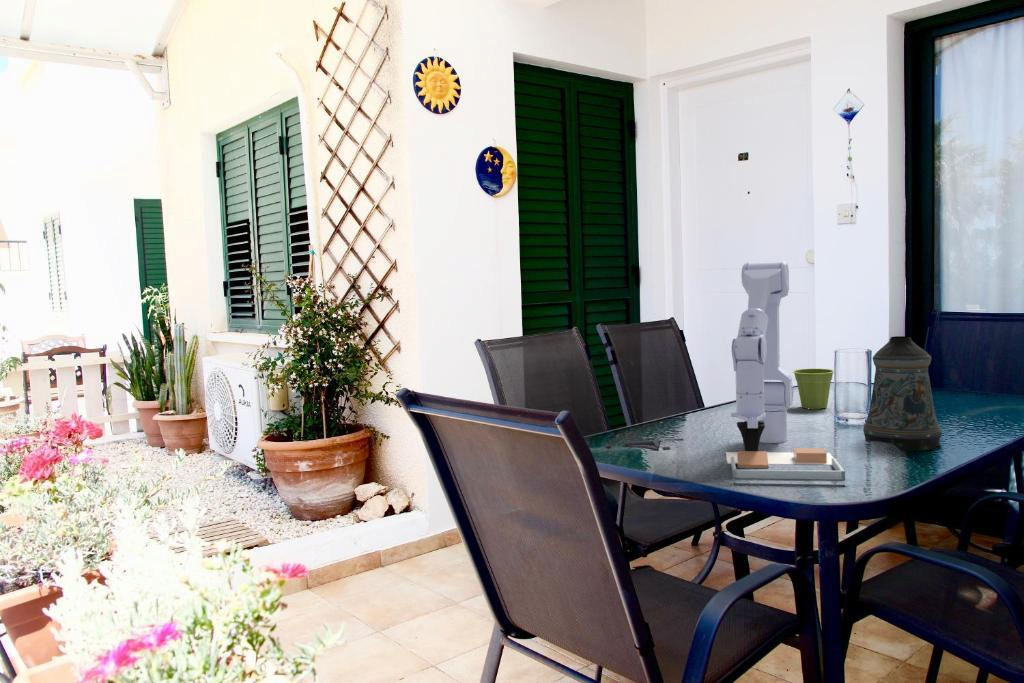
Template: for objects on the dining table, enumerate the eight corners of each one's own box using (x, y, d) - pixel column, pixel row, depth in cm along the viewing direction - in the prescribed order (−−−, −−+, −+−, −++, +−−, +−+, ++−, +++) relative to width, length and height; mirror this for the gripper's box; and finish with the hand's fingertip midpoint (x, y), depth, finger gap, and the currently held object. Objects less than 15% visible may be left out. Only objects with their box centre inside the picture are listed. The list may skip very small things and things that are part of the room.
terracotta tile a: (737, 458, 170) (737, 451, 169) (766, 459, 169) (766, 451, 168) (738, 472, 166) (738, 464, 165) (768, 473, 164) (768, 465, 163)
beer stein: (894, 453, 178) (893, 341, 176) (841, 437, 197) (840, 336, 195) (958, 447, 181) (958, 337, 180) (900, 432, 200) (899, 332, 199)
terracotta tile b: (793, 457, 172) (793, 448, 172) (823, 457, 171) (822, 448, 171) (796, 462, 167) (796, 453, 167) (826, 462, 166) (826, 453, 166)
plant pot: (788, 405, 247) (787, 369, 246) (827, 404, 246) (826, 367, 245) (800, 411, 235) (799, 373, 234) (841, 410, 234) (840, 372, 234)
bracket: (637, 461, 184) (637, 449, 184) (625, 447, 199) (624, 436, 199) (699, 458, 185) (699, 446, 185) (682, 445, 200) (681, 434, 200)
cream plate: (725, 458, 180) (725, 452, 180) (829, 459, 175) (829, 452, 175) (727, 470, 169) (727, 463, 169) (838, 471, 164) (838, 464, 164)
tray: (731, 470, 169) (730, 456, 169) (834, 471, 164) (834, 457, 164) (733, 485, 157) (733, 470, 157) (845, 486, 153) (845, 471, 152)
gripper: (729, 387, 177) (730, 448, 178) (731, 397, 163) (733, 463, 164) (762, 387, 175) (763, 448, 176) (767, 397, 161) (769, 463, 162)
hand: (751, 455), depth 170 cm, fingers closed
